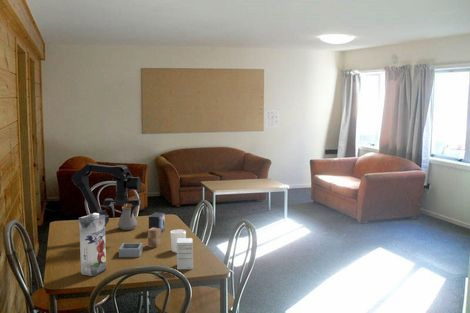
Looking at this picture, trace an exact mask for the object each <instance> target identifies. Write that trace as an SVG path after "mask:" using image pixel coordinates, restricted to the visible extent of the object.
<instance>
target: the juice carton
mask: <svg viewBox="0 0 470 313" xmlns="http://www.w3.org/2000/svg"><path fill="white" fill-rule="evenodd" d="M78 224H79V225H78V226H79V249H80V251H79V253H80V254H79V256H80V258H79V259H80V273H81V275H84V276H90V277H96V276H98V275H99V274H101V273H102V272H105V271H107V253H106V252H107V250H106V249H107V248H106V238H105V230H106V227H105V215H100V214H99V213H93V214H92V213H89V214H88V215H85V216H81V217H78Z"/></svg>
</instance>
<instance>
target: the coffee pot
mask: <svg viewBox="0 0 470 313" xmlns="http://www.w3.org/2000/svg"><path fill="white" fill-rule="evenodd" d="M131 206H132V205H125V206H124V205H123V206H121V209H122V211H121V210H117V209H115V208H114V212H117V213H120V217H119V219H118V222H117V226H118V228H119V229H121V231H132V230H134V229H135V228H136V227H137V226H138V221H137V219H136V217H135V214H134V213H133V215H132V218H131V217H130V215H131ZM99 207H100V208H105V209H106V210H110V209H109V208H108V207H106V206H103V205H102V204H101V205H99Z"/></svg>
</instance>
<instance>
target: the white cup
mask: <svg viewBox="0 0 470 313" xmlns="http://www.w3.org/2000/svg"><path fill="white" fill-rule="evenodd" d="M169 232H170V246H171V252H173V253H177V238H187V230H185V229H182V228H181V229H179V228H178V229H173V230H170V231H169Z"/></svg>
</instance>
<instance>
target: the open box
mask: <svg viewBox="0 0 470 313" xmlns="http://www.w3.org/2000/svg"><path fill="white" fill-rule="evenodd" d="M143 244H144V243H143V242H122V244H121V245H120V247H119V248H118V258H140V257H141V255H142V253H143V251H144V248H143V246H144V245H143Z"/></svg>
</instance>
